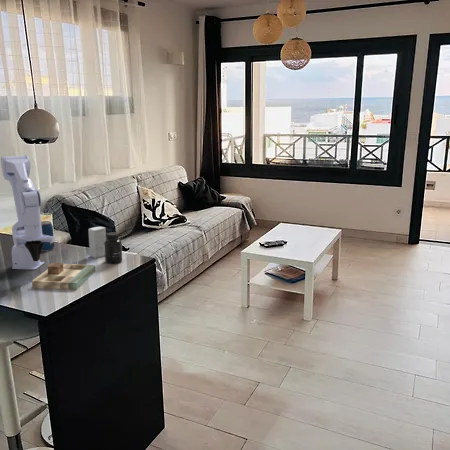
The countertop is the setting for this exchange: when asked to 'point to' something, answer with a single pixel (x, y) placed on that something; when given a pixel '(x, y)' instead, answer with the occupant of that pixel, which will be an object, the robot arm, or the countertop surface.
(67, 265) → the trap board
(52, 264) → the walnut block
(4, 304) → the countertop surface
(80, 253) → the countertop surface
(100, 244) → the skincare box
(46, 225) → the soda can
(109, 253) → the supplement bottle
